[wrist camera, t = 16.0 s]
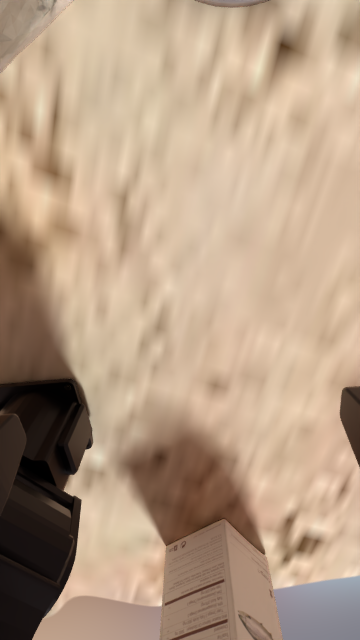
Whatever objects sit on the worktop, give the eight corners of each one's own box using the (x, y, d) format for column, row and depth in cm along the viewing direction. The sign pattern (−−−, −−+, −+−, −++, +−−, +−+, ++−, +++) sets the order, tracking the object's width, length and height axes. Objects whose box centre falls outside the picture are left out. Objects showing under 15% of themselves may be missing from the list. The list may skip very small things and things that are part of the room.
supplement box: (268, 555, 33) (311, 765, 21) (207, 580, 35) (216, 785, 23) (225, 514, 30) (247, 725, 19) (162, 544, 32) (148, 751, 21)
